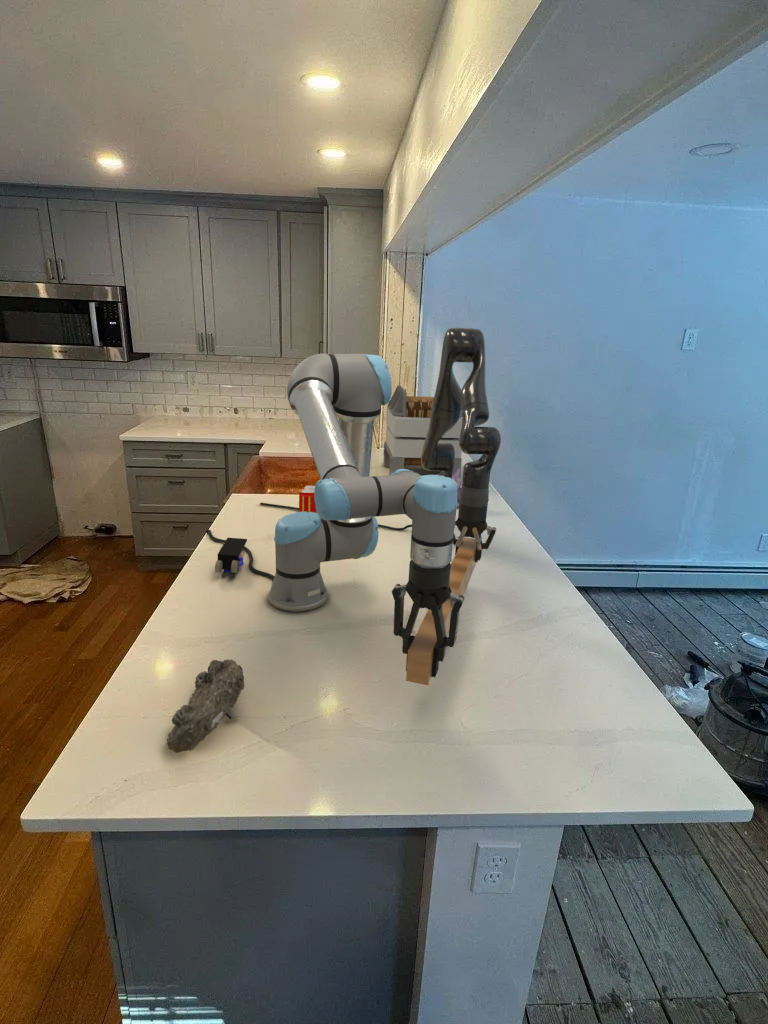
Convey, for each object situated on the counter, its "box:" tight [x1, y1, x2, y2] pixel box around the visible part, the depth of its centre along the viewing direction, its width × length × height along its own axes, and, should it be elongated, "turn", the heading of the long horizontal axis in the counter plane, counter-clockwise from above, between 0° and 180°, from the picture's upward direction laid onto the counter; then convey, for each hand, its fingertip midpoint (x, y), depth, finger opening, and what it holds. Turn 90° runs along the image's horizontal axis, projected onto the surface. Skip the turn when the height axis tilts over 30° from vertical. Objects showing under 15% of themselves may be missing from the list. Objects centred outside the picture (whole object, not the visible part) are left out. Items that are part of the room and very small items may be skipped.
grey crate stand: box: [383, 384, 463, 479], centre depth 268 cm, size 34×33×41 cm
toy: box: [298, 485, 318, 514], centre depth 210 cm, size 12×13×30 cm
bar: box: [405, 537, 478, 687], centre depth 133 cm, size 60×4×7 cm, turn 163°
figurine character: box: [214, 537, 248, 578], centre depth 166 cm, size 7×8×15 cm
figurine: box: [452, 468, 462, 508], centre depth 230 cm, size 9×10×15 cm
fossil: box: [166, 658, 245, 754], centre depth 106 cm, size 22×10×15 cm
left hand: (422, 670), depth 110 cm, fingers closed on bar, 4 cm apart
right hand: (467, 559), depth 157 cm, fingers closed on bar, 4 cm apart
